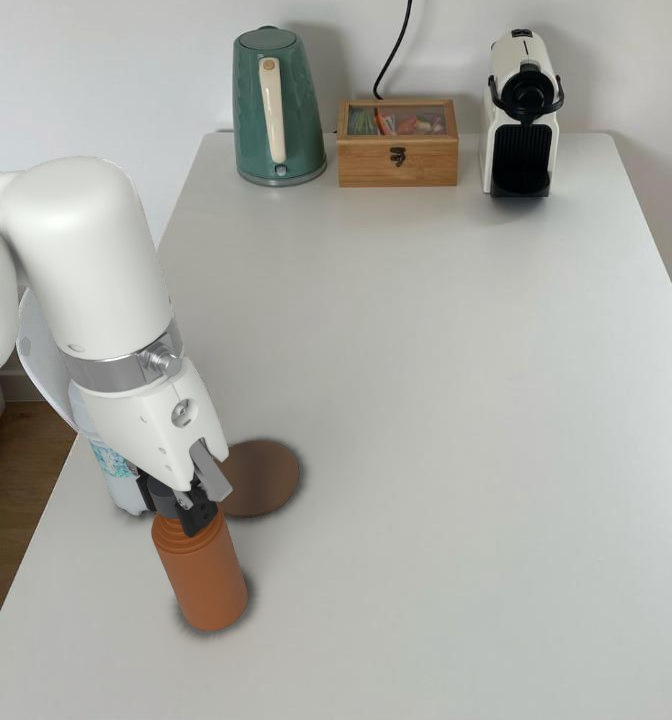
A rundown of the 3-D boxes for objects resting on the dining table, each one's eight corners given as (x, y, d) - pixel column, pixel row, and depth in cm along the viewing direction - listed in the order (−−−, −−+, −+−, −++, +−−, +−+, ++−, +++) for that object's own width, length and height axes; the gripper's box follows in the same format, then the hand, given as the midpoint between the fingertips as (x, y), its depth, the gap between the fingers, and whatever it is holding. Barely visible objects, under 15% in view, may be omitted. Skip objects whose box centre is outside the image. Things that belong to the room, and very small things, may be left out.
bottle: (165, 526, 82) (109, 385, 68) (103, 519, 83) (35, 378, 69) (189, 474, 86) (141, 333, 73) (130, 468, 87) (71, 327, 74)
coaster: (221, 533, 81) (220, 529, 80) (192, 465, 87) (190, 462, 87) (313, 493, 84) (313, 489, 84) (278, 431, 91) (277, 427, 90)
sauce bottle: (193, 642, 72) (144, 525, 60) (174, 590, 76) (125, 471, 64) (257, 612, 74) (221, 493, 62) (235, 563, 78) (198, 442, 66)
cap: (212, 495, 65) (205, 473, 63) (178, 527, 63) (169, 505, 61) (180, 474, 67) (172, 452, 65) (145, 505, 65) (136, 483, 63)
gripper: (253, 357, 52) (290, 527, 64) (87, 273, 59) (150, 440, 72) (164, 430, 48) (223, 597, 60) (-2, 329, 55) (81, 496, 67)
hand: (183, 510), depth 66 cm, fingers closed on cap, 3 cm apart
